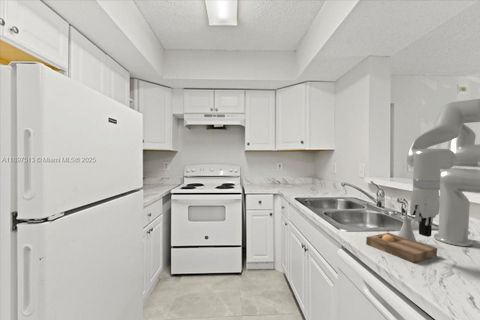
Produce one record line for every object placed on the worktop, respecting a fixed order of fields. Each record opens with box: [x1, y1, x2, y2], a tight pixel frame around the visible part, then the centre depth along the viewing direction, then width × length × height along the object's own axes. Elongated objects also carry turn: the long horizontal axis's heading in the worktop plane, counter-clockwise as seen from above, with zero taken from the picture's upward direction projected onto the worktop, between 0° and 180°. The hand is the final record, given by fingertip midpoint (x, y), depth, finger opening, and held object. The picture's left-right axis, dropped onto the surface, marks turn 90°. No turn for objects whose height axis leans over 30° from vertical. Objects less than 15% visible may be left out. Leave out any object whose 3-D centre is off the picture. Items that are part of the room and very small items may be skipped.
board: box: [365, 232, 438, 264], centre depth 91 cm, size 14×18×3 cm
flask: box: [397, 216, 417, 242], centre depth 101 cm, size 7×7×10 cm
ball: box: [382, 235, 394, 242], centre depth 95 cm, size 4×4×4 cm
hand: (425, 235), depth 85 cm, fingers closed
